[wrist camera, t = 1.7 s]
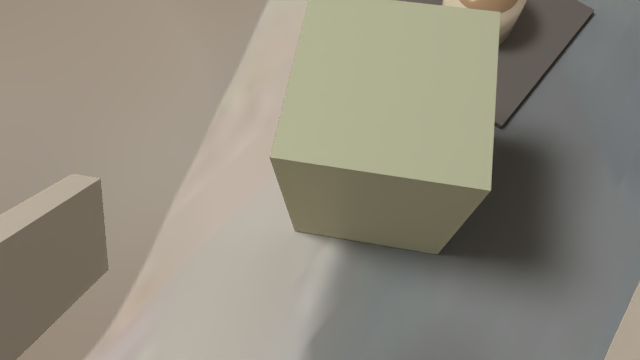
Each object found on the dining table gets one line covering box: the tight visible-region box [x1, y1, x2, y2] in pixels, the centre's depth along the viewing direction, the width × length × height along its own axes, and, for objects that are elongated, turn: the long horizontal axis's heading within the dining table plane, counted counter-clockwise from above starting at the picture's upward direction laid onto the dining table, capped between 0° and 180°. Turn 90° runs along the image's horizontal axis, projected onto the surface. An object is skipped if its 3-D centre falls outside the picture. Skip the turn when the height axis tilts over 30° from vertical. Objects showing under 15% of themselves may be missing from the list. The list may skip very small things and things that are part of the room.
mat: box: [397, 0, 594, 128], centre depth 39 cm, size 14×14×1 cm
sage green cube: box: [270, 0, 500, 255], centre depth 29 cm, size 10×10×12 cm
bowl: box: [442, 0, 527, 45], centre depth 37 cm, size 6×6×4 cm
